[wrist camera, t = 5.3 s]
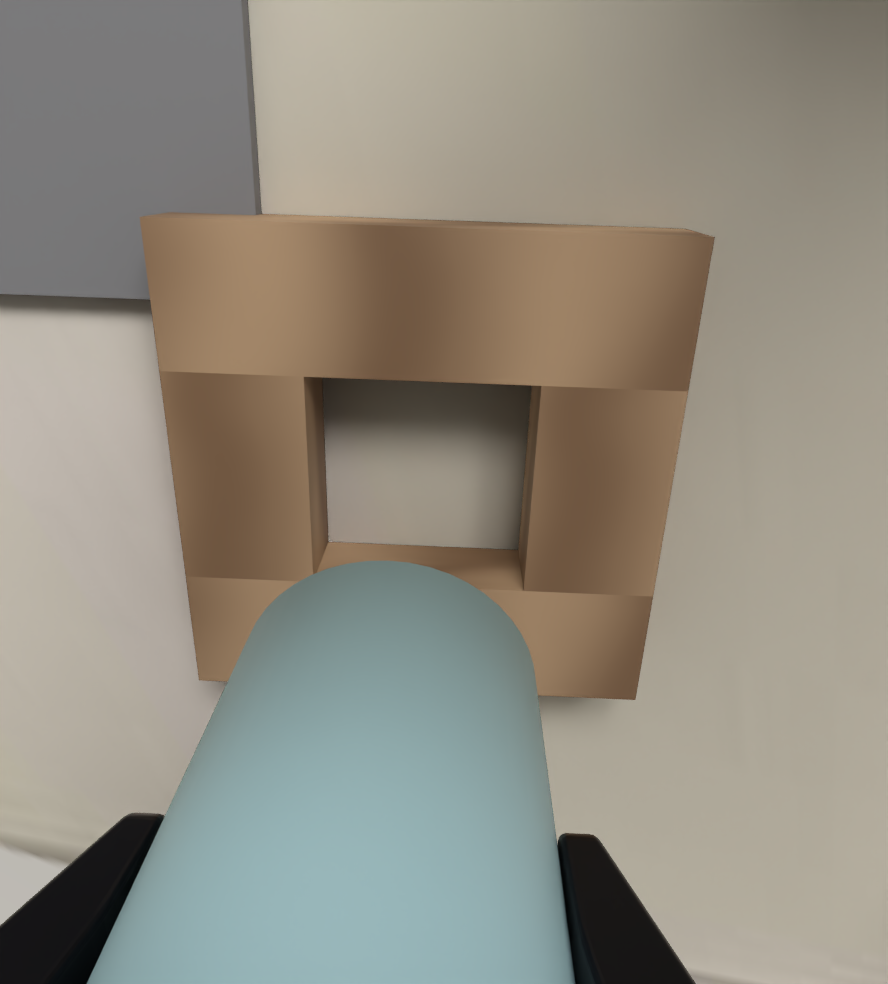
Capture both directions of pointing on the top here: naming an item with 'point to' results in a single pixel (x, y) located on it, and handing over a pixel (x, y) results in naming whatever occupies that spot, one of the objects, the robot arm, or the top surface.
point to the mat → (117, 134)
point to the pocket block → (434, 358)
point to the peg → (360, 803)
